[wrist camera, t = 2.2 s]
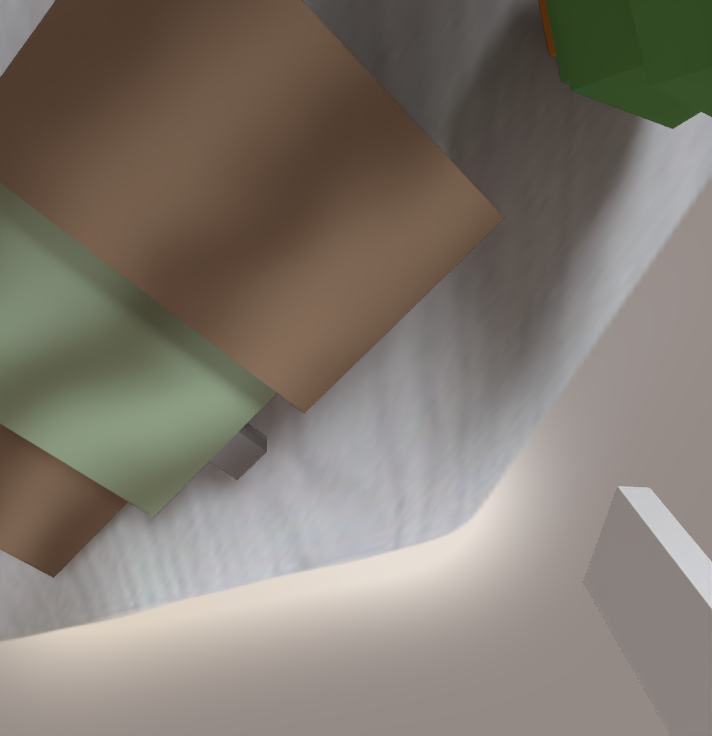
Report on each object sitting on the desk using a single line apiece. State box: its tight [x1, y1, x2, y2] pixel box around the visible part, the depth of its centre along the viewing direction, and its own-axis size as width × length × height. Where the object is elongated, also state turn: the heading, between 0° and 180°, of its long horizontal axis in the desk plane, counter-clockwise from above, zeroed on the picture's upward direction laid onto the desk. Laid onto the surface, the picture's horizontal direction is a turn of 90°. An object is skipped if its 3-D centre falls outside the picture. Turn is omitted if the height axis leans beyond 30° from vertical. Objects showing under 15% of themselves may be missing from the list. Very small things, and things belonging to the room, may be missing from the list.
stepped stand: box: [0, 0, 504, 577], centre depth 30 cm, size 16×30×12 cm, turn 136°
